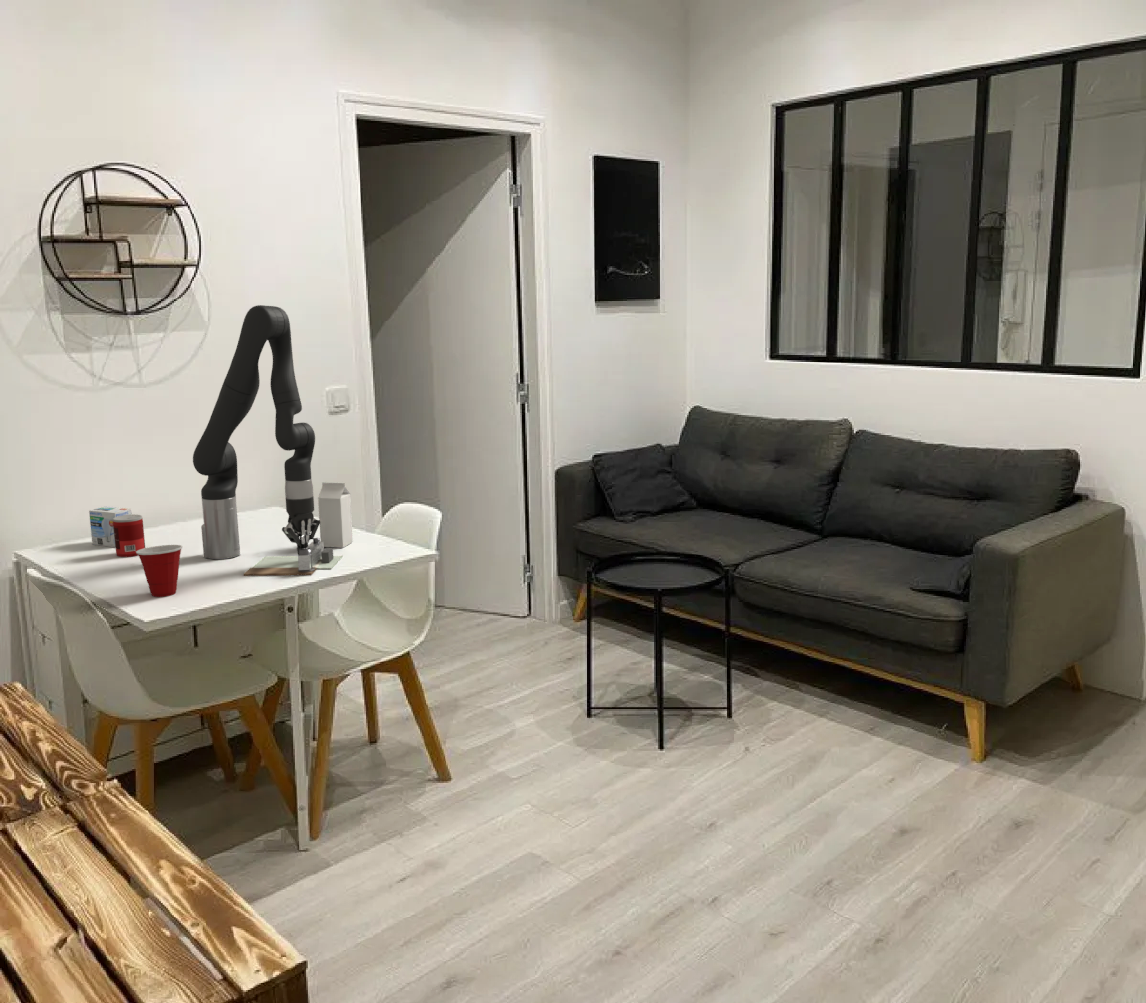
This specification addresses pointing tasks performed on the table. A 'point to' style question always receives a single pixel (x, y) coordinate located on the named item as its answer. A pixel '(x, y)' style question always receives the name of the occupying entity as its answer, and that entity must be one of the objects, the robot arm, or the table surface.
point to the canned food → (128, 535)
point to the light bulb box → (105, 524)
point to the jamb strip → (278, 571)
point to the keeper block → (327, 555)
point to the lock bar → (310, 554)
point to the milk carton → (335, 515)
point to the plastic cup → (161, 568)
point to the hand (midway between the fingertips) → (303, 556)
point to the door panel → (292, 562)
